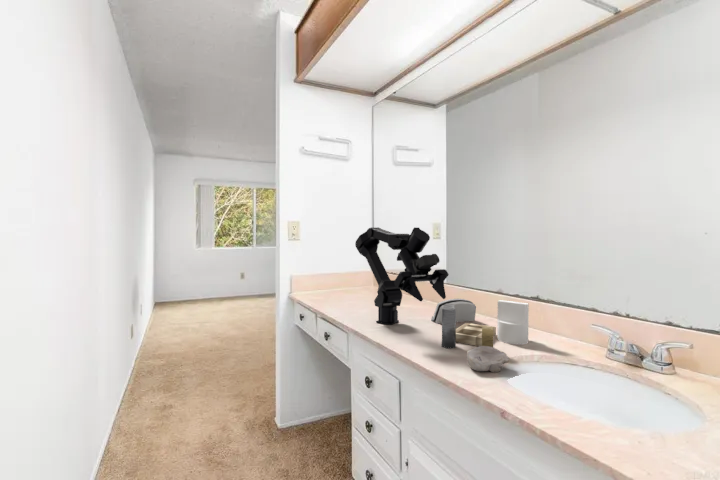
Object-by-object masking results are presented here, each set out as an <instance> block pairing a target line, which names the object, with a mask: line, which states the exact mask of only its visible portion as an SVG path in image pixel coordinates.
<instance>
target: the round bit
mask: <svg viewBox="0 0 720 480" xmlns="http://www.w3.org/2000/svg"><path fill="white" fill-rule="evenodd" d="M456 329H457V322H456V309H454V304H448V303H446V304H444V308H443V309H442V323H441V347H443V349H444V348H445V349H455V348H456V347H457V342H456Z"/></svg>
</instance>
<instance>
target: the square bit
mask: <svg viewBox="0 0 720 480" xmlns="http://www.w3.org/2000/svg"><path fill="white" fill-rule="evenodd" d="M488 326H489V325H486V326H482V346H489V347H494V336H493V327H494V326H493V327H488Z"/></svg>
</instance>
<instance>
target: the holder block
mask: <svg viewBox="0 0 720 480" xmlns="http://www.w3.org/2000/svg"><path fill="white" fill-rule="evenodd" d="M482 326H488V327H493V337H495V336H497V326H493V325H484V324H476V323H470V322H465V323H463V324H462V325H460V326H459V327H456V343H460V344H465V345H471V346H476V347H479V346H482Z"/></svg>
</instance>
